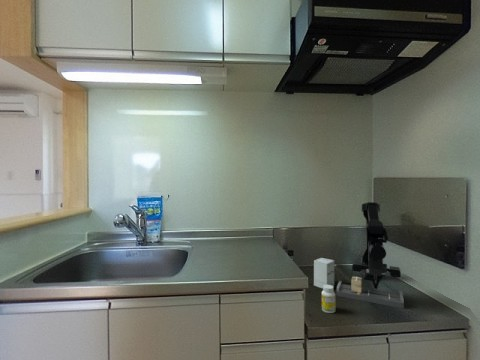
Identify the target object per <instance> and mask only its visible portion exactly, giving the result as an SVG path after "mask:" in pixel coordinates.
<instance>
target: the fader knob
mask: <svg viewBox="0 0 480 360" xmlns="http://www.w3.org/2000/svg"><path fill="white" fill-rule="evenodd" d="M362 279H363V278H362V277H359V276H352V277H351V280H350V281H351V284H350V285H351V291H353V292H359V293H361V291H362V287H363V280H362Z"/></svg>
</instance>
